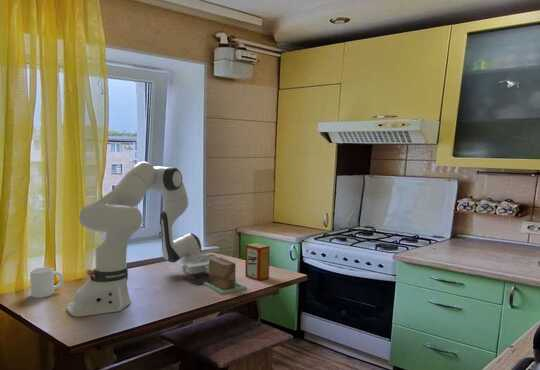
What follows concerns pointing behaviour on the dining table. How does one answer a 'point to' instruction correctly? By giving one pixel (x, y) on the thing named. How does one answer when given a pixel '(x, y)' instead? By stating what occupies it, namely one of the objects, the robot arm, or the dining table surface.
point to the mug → (43, 282)
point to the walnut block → (222, 273)
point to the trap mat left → (197, 281)
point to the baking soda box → (257, 261)
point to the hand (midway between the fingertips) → (214, 270)
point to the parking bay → (240, 287)
